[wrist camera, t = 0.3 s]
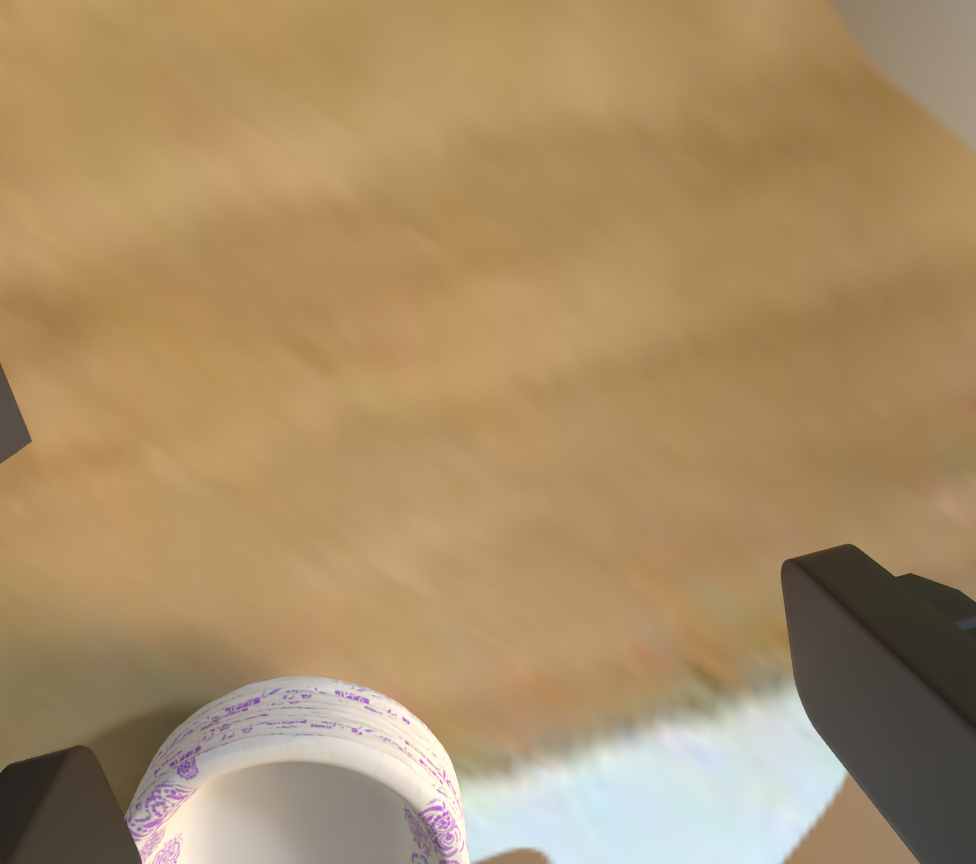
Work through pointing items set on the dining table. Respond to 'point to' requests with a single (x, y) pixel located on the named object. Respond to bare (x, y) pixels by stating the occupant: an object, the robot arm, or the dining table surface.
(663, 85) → the dining table surface
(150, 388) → the dining table surface
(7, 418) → the black button box
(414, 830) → the paper bowls
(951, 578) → the dining table surface
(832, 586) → the robot arm
